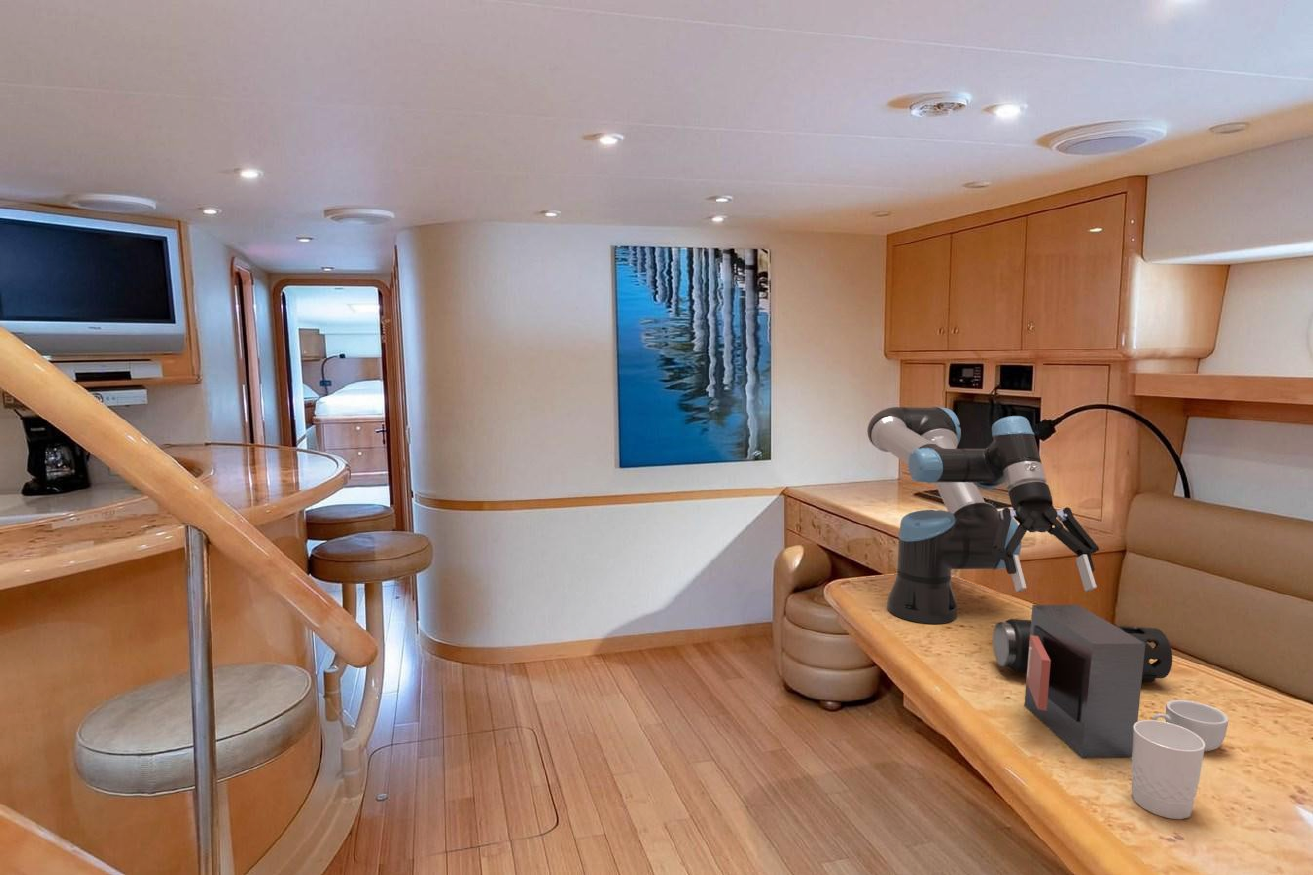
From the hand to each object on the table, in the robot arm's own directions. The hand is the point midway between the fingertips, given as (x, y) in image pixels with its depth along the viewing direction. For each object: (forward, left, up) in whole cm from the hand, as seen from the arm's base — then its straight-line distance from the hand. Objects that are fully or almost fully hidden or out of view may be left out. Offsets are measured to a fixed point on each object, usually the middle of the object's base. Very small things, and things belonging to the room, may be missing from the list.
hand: (1056, 589), depth 139 cm
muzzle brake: (+4, +3, -16) cm, 16 cm away
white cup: (+42, -9, -16) cm, 46 cm away
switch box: (+23, -9, -15) cm, 29 cm away
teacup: (+27, +6, -16) cm, 32 cm away
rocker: (+23, -17, -9) cm, 30 cm away
